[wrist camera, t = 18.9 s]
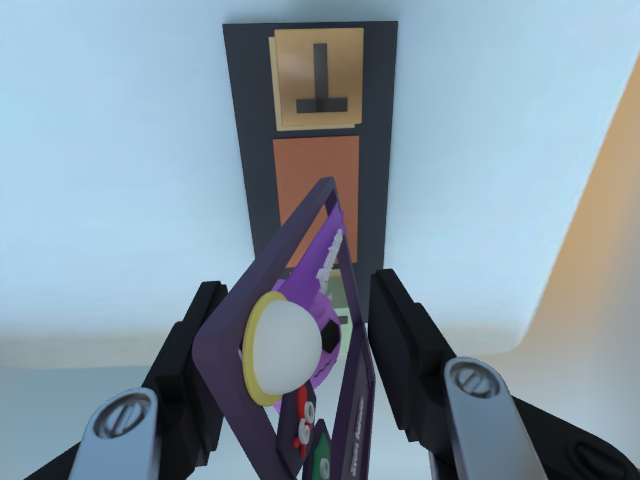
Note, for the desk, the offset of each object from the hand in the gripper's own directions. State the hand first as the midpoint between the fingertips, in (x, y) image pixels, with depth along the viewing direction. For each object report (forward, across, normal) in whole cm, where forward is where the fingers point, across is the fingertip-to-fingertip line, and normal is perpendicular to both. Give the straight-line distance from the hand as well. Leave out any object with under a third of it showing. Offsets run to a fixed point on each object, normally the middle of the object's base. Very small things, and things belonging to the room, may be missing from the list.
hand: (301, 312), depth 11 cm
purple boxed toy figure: (+1, 0, 0) cm, 1 cm away
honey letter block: (+14, -2, -8) cm, 16 cm away
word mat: (+14, -2, 0) cm, 14 cm away
